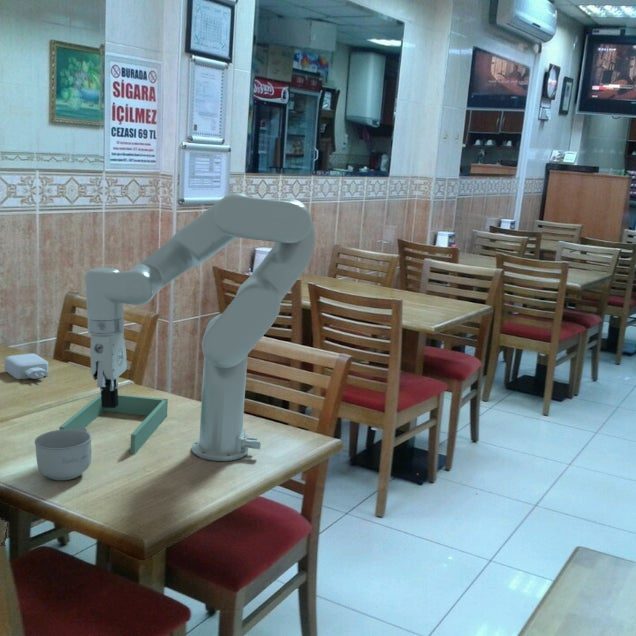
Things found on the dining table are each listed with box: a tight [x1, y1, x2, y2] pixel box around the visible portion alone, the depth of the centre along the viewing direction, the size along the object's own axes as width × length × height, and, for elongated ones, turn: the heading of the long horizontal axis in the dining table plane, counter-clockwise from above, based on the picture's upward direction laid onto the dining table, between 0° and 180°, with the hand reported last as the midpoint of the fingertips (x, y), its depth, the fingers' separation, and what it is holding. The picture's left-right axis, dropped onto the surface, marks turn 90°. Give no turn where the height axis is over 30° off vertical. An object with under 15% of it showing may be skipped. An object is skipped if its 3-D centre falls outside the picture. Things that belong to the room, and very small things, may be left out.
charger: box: [4, 353, 50, 380], centre depth 211 cm, size 5×9×15 cm
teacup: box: [34, 427, 92, 481], centre depth 152 cm, size 14×11×8 cm
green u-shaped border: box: [58, 392, 169, 455], centre depth 176 cm, size 17×26×4 cm, turn 175°
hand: (110, 406), depth 166 cm, fingers closed
